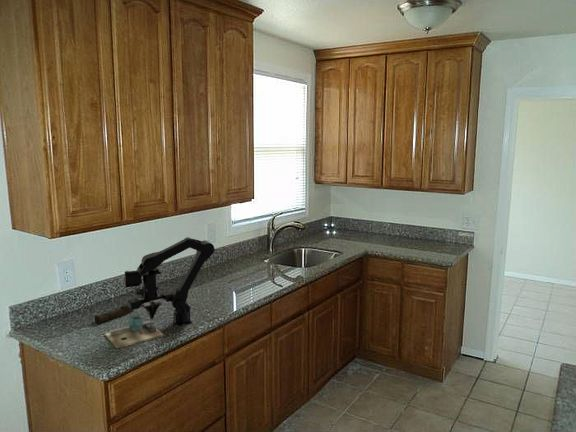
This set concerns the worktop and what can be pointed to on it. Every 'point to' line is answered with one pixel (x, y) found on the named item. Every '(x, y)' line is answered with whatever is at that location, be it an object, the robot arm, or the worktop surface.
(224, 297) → the worktop surface
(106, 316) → the hand tool
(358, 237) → the worktop surface
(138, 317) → the sliding leg
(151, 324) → the fixed leg
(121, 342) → the template board
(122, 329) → the rail
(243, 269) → the worktop surface
